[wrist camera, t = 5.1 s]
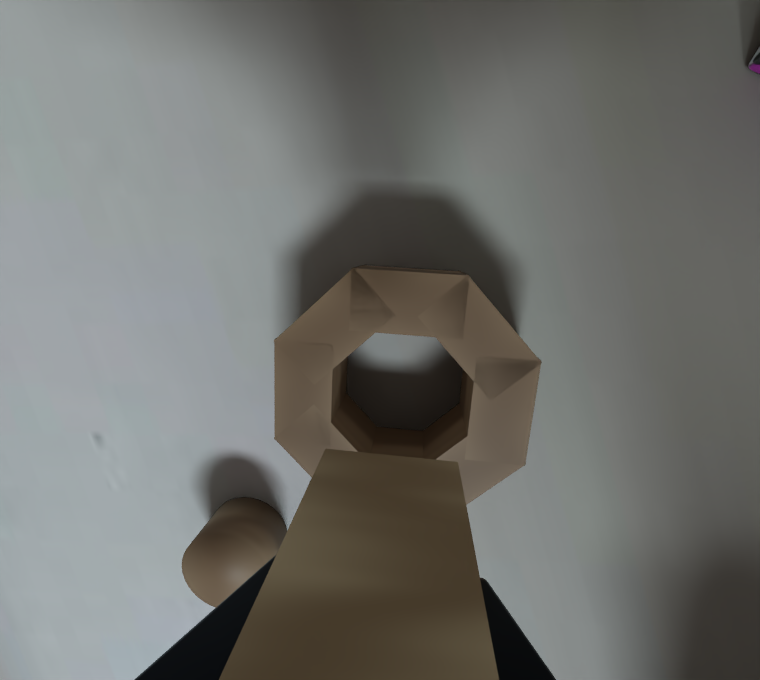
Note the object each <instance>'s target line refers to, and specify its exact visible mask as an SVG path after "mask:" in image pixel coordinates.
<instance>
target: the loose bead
mask: <svg viewBox="0 0 760 680" xmlns="http://www.w3.org/2000/svg"><path fill="white" fill-rule="evenodd" d="M286 533H287V529H286V525H285V523H284V521H283V519H282V518H281V516H280V515H279V513H278V512H277V511H276V510H275V509H274V508H272V507H271V506H270V505H268V504H266V503H265V502H263V501H260V500H257V499H254V498H247V497H242V498H235V499H232V500H229V501H227V502H225V503H224V504H223V505H222V506H220V507H219V509H218V510H217V511H216V512H215V514H214V515H213V516H212V517H211V519H210V520H209V521H208V523H207V524H206V525H205V526H204V528H203V529H202V530H201V531H200V533H199V534H198V535H197V536H196V538H195V539H194V540H193V541H192V543H191V544H190V545H189V547H188V548H187V549H186V551H185V553H184V556H183V559H182V572H183V576H184V578H185V581H186V583H187V585H188V586H189V588H190V589H191V590H192V592H193V593H194V594H195V595H196V596H197V597H198V598H200V599H201V600H202V601H204V602H205V603H207V604H209V605H211V606H213V607H217V606H218V605H220V604H221V603H222V602H223V601H224V600H225V599H226V598H227V597H229V596H230V595H231V594H232V593H233V592H234V591H235V590H236V589H238V588H239V587H240V586H241V585H242V584H243V583H244V582H246V581H247V580H248V579H249V578H250V577H251V576H252V575H253V574H255V573H256V572H257V571H258V570H259V569H260V568H261V567H262V566H264V565H265V564H266V563H267V562H268V561H269V560H270V559H272V558H273V557H274V556H275V555H277V553H278V550H279V548H280V546H281V544H282V542H283V540H284V537H285V535H286Z"/></svg>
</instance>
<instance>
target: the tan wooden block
mask: <svg viewBox="0 0 760 680" xmlns="http://www.w3.org/2000/svg"><path fill="white" fill-rule="evenodd" d="M219 680H499V677H498V672H497V666H496V661H495V656H494V650H493V645H492V640H491V634H490V629H489V624H488V619H487V613H486V608H485V603H484V597H483V592H482V587H481V581H480V576H479V571H478V566H477V560H476V555H475V550H474V544H473V539H472V534H471V528H470V523H469V518H468V513H467V507H466V502H465V497H464V491H463V486H462V481H461V475H460V470H459V465H458V462H454V461H444V460H434V459H424V458H414V457H404V456H394V455H384V454H374V453H364V452H355V451H345V450H335V449H325V451H324V453H323V455H322V457H321V459H320V461H319V464H318V466H317V468H316V470H315V472H314V474H313V477H312V479H311V481H310V483H309V485H308V487H307V490H306V492H305V494H304V496H303V498H302V500H301V503H300V505H299V507H298V509H297V511H296V514H295V516H294V518H293V520H292V522H291V524H290V527H289V529H288V531H287V533H286V535H285V537H284V540H283V542H282V544H281V546H280V548H279V550H278V553H277V555H276V557H275V559H274V561H273V563H272V566H271V568H270V570H269V572H268V574H267V576H266V579H265V581H264V583H263V585H262V587H261V589H260V592H259V594H258V596H257V598H256V600H255V602H254V605H253V607H252V609H251V611H250V613H249V615H248V618H247V620H246V622H245V624H244V626H243V628H242V631H241V633H240V635H239V637H238V639H237V641H236V644H235V646H234V648H233V650H232V652H231V654H230V657H229V659H228V661H227V663H226V665H225V667H224V670H223V672H222V674H221V676H220V678H219Z"/></svg>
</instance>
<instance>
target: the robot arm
mask: <svg viewBox="0 0 760 680" xmlns="http://www.w3.org/2000/svg"><path fill="white" fill-rule="evenodd" d="M275 557H276V555H275V556H274V557H273V558H272V559H270V560H269V561H268V562H267V563H266V564H265V565H264V566H262V567H261V568H260V569H259V570H258V571H257V572H256V573H255V574H253V575H252V576H251V577H250V578H249V579H248V580H247V581H246V582H244V583H243V584H242V585H241V586H240V587H239V588H238V589H236V590H235V591H234V592H233V593H232V594H231V595H230V596H229V597H227V598H226V599H225V600H224V601H223V602H222V603H221V604H220V605H218V606H217V607H216V608H215V609H214V610H213V611H212V612H210V613H209V614H208V615H207V616H206V617H205V618H204V619H203V620H201V621H200V622H199V623H198V624H197V625H196V626H195V627H194V628H192V629H191V630H190V631H189V632H188V633H187V634H186V635H184V636H183V637H182V638H181V639H180V640H179V641H178V642H177V643H175V644H174V645H173V646H172V647H171V648H170V649H169V650H167V651H166V652H165V653H164V654H163V655H162V656H161V657H160V658H158V659H157V660H156V661H155V662H154V663H153V664H152V665H151V666H149V667H148V668H147V669H146V670H145V671H144V672H143V673H141V674H140V675H139V676H138V677H137V678H136V679H135V680H219V678H220V676H221V674H222V672H223V670H224V667H225V665H226V663H227V661H228V659H229V657H230V654H231V652H232V650H233V648H234V646H235V644H236V641H237V639H238V637H239V635H240V633H241V631H242V628H243V626H244V624H245V622H246V620H247V618H248V615H249V613H250V611H251V609H252V607H253V605H254V602H255V600H256V598H257V596H258V594H259V592H260V589H261V587H262V585H263V583H264V581H265V579H266V576H267V574H268V572H269V570H270V568H271V566H272V563H273V561H274V559H275ZM480 581H481V587H482V592H483V597H484V603H485V608H486V613H487V619H488V624H489V629H490V634H491V640H492V645H493V650H494V656H495V661H496V666H497V672H498V677H499V680H556V679H555V678H554V676H553V675H552V673H551V672H550V670H549V669H548V668H547V666H546V665H545V663H544V662H543V660H542V659H541V658H540V656H539V655H538V653H537V652H536V650H535V649H534V648H533V646H532V645H531V643H530V642H529V640H528V639H527V637H526V636H525V635H524V633H523V632H522V630H521V629H520V627H519V626H518V625H517V623H516V622H515V620H514V619H513V617H512V616H511V615H510V613H509V612H508V610H507V609H506V607H505V606H504V605H503V603H502V602H501V600H500V599H499V597H498V596H497V595H496V593H495V592H494V590H493V589H492V587H491V586H490V585H489V583H488V582H487V581H486V580H485V579H483V578H480Z"/></svg>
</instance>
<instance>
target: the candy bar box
mask: <svg viewBox="0 0 760 680" xmlns="http://www.w3.org/2000/svg"><path fill="white" fill-rule="evenodd" d="M748 68H749V69H750V70H752V71H754V72H756V73H758V74H760V46H759V48H758V50H757V51H756V53H755V55H754V56H753V58H752V60H751V61H750V63H749V65H748Z"/></svg>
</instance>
